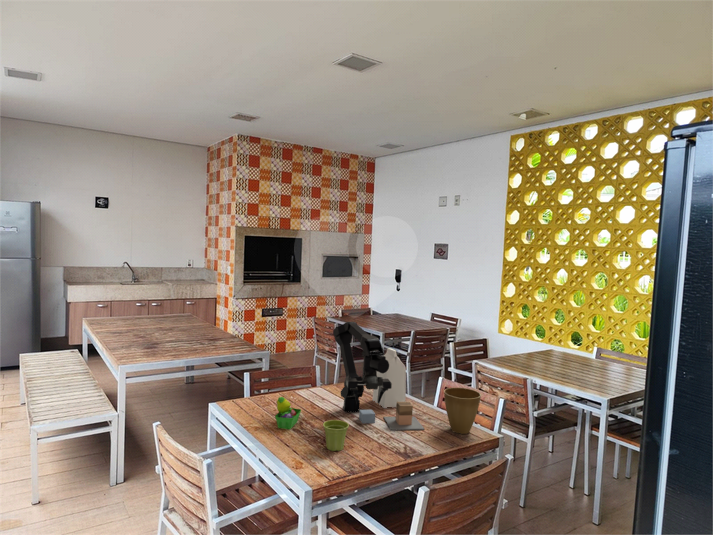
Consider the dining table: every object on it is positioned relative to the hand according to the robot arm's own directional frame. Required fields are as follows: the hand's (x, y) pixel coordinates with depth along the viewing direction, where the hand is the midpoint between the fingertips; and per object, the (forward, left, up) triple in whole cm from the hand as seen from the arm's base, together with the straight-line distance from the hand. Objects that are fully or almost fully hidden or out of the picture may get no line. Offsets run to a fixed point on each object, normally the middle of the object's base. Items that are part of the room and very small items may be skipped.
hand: (367, 403), depth 202 cm
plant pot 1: (-17, -27, -8) cm, 33 cm away
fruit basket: (-34, -4, -8) cm, 35 cm away
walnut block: (+15, -4, -3) cm, 16 cm away
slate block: (0, 0, -8) cm, 8 cm away
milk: (+15, +23, -8) cm, 28 cm away
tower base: (+15, -4, -7) cm, 17 cm away
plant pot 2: (+37, -12, -8) cm, 40 cm away
